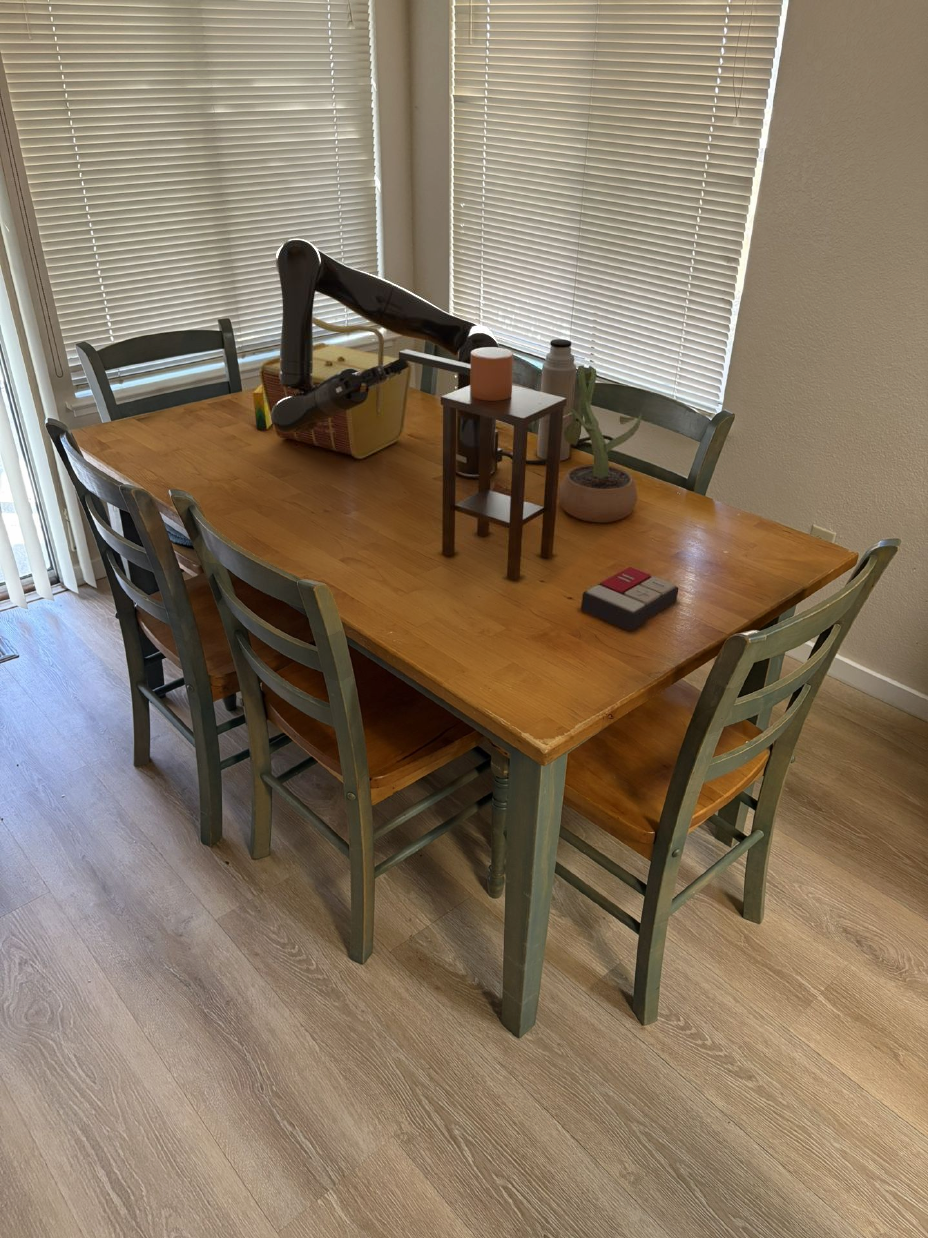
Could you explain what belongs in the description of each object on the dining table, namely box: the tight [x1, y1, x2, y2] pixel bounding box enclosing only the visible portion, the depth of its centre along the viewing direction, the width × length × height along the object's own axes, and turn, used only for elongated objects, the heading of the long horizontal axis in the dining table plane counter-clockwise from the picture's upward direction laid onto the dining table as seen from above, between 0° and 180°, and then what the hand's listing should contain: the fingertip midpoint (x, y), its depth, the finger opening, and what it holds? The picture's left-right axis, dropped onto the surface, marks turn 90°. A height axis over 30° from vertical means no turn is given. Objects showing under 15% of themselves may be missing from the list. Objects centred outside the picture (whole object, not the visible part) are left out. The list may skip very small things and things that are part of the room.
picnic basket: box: [258, 316, 413, 460], centre depth 229 cm, size 29×26×30 cm
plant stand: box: [440, 384, 567, 582], centre depth 176 cm, size 18×14×32 cm
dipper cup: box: [398, 347, 514, 401], centre depth 172 cm, size 25×8×8 cm, turn 53°
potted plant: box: [545, 365, 642, 524], centre depth 198 cm, size 22×18×30 cm
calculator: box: [580, 566, 679, 633], centre depth 168 cm, size 11×4×15 cm
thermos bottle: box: [536, 338, 577, 461], centre depth 224 cm, size 8×8×28 cm
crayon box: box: [252, 383, 273, 430], centre depth 243 cm, size 7×3×12 cm, turn 172°
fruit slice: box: [490, 480, 511, 497], centre depth 203 cm, size 8×7×5 cm
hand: (391, 366), depth 181 cm, fingers open, 8 cm apart
